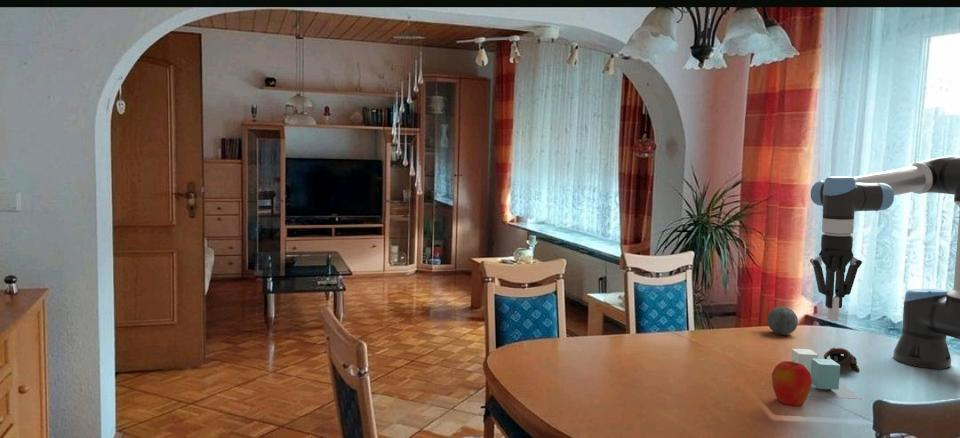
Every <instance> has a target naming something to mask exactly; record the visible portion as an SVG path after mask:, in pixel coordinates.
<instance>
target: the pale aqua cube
mask: <svg viewBox="0 0 960 438" xmlns="http://www.w3.org/2000/svg"><path fill="white" fill-rule="evenodd" d="M840 373H841V371H840V365H839V364H838V363H836V362H835V361H833V360H832V359H830V358H827V359H824V358H818V359H812V362H811V379H812V384H813V385H814V386H816V387H817V388H818V389H836V390H838V389H839V382H840V375H841V374H840Z"/></svg>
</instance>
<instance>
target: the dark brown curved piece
mask: <svg viewBox="0 0 960 438" xmlns="http://www.w3.org/2000/svg"><path fill="white" fill-rule="evenodd" d="M828 357H829V359H832V360H833V361H835V362H836V363H838V364H839V365H840V372H842V371H844V370H849V371H852V370H855V371H857V373H858V372H860V368H859V366H858V362H857V358H856V356H854V354H852V352H850V351H849V350H848V349H846V348H841V347H837V348H836V347H832V348H830V349H829V350H827V351H826V352H825V353H824V355H823V359H828Z"/></svg>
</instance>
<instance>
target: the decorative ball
mask: <svg viewBox="0 0 960 438" xmlns="http://www.w3.org/2000/svg"><path fill="white" fill-rule="evenodd" d="M766 319H767V320H766V321H767V325H768V327H769V329H770V330H771V331H772V332H773V333H775V334H777V335H781V336H786V335H790V334H791V333H794V332H795V331H796V330H797V327H798V324H799V318H798V316H797V314H796V313H795V311H793V310H792V309H791V308H789V307H786V306H778V307H775V308H773V309H771V310H770V312H769V313H768V315H767V318H766Z"/></svg>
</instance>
